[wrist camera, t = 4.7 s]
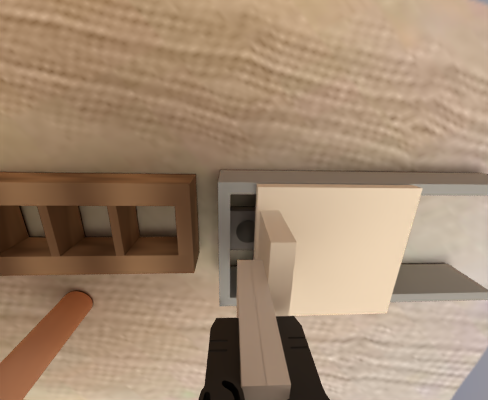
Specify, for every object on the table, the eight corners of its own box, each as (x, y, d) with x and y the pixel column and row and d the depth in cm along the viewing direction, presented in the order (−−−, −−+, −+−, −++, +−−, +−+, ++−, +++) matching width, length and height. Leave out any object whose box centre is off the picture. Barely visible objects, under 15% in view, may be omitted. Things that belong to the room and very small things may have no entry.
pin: (67, 313, 22) (-57, 456, 13) (60, 291, 21) (-77, 427, 12) (94, 312, 22) (-7, 453, 13) (89, 291, 21) (-24, 425, 12)
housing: (221, 273, 21) (219, 306, 18) (220, 169, 18) (217, 182, 14) (445, 270, 23) (487, 299, 19) (481, 173, 20) (541, 185, 16)
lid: (251, 308, 18) (258, 373, 13) (256, 183, 14) (268, 211, 10) (380, 305, 18) (429, 366, 14) (413, 185, 15) (492, 212, 10)
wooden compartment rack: (20, 253, 20) (-15, 275, 17) (-8, 172, 17) (-54, 181, 14) (199, 252, 21) (194, 272, 18) (195, 174, 18) (189, 184, 15)
